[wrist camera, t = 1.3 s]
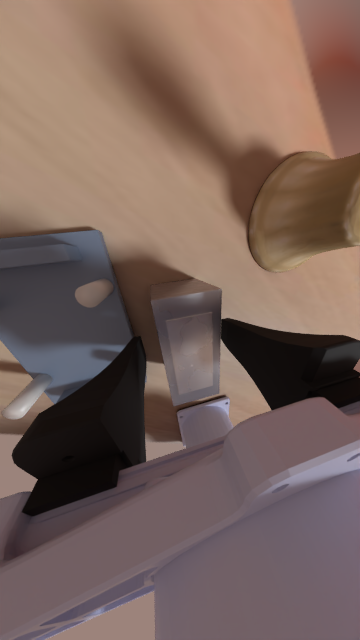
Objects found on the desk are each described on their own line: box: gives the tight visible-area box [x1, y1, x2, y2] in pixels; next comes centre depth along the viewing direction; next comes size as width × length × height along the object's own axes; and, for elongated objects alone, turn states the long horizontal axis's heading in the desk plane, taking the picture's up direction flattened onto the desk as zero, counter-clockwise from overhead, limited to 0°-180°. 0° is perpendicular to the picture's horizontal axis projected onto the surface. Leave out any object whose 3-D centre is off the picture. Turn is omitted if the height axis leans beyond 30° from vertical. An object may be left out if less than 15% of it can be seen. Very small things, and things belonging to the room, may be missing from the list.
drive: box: [150, 278, 222, 406], centre depth 11 cm, size 9×4×5 cm, turn 6°
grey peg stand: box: [0, 230, 147, 419], centre depth 10 cm, size 14×9×4 cm, turn 6°
